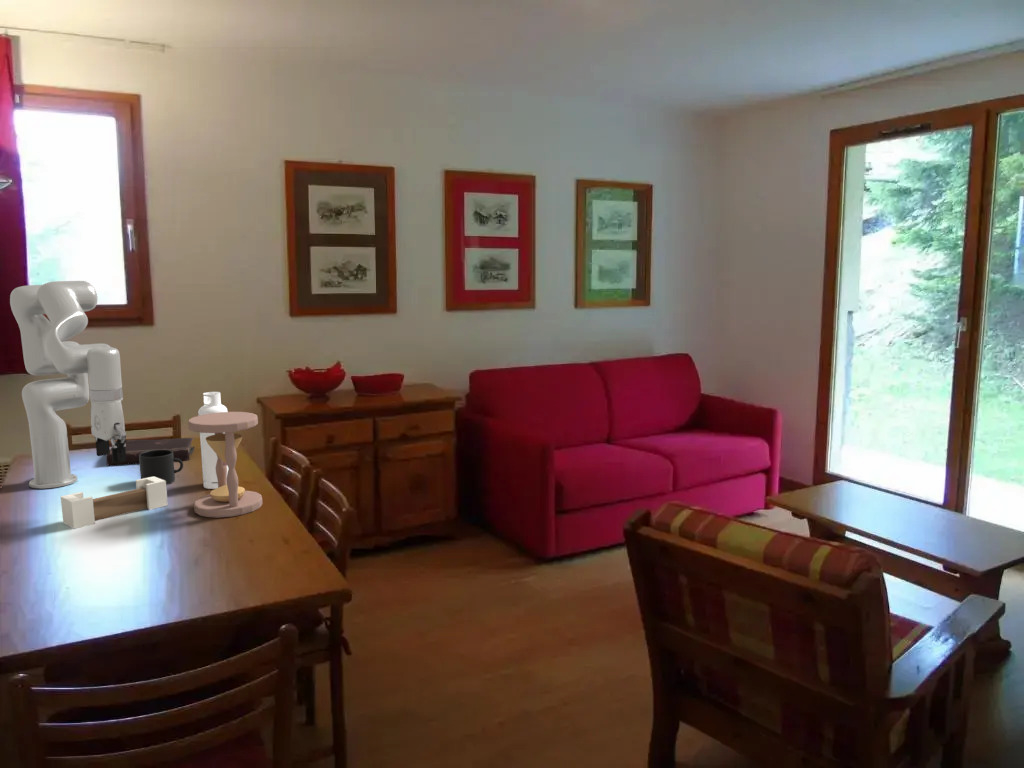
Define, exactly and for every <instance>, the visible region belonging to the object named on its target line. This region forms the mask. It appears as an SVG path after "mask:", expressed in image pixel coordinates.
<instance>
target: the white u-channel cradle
mask: <svg viewBox="0 0 1024 768" xmlns="http://www.w3.org/2000/svg"><path fill="white" fill-rule="evenodd" d="M135 487H136V488H135V489H140V488H143V487H144V488H146V493H147V505H148V508H147V510H149V511H151V510H154V509H155V510H156V509H159V508H162V507H167V506H168V505H169V503H168V494H167V493H168V492H167V485H166V481H165V480H162V479H160V478H157V477H154V476H153V477H148V478H144V479H141V478H140V479H135ZM93 499H94V498H93V496H87V497H84V492H82V491H79V492H75V493H70V494H65V495H61V496H60V503H61V504H60V505H61V513H62V514H61V515H62V522H63V524H65V525H67V526H69V527H71V528H73V529H79V528H81V527H82V528H83V527H85V526H86V527H87V526H90V525H94V524H96V521H95V518H94V507H93Z"/></svg>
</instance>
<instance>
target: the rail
mask: <svg viewBox="0 0 1024 768" xmlns="http://www.w3.org/2000/svg"><path fill="white" fill-rule="evenodd" d="M93 507H94V518H95V522H97V521H101V520H106V519H109V518H112V517H118V516H121V515H125V514H126V515H127V514H128V513H135V512H137V511H142V510H145V509H148V505H147V493H146V488H144V487H143V488H140V489H136V488H135V489H131V490H126V491H123V492H119V493H113V494H109V495H105V496H101V497H96V498H93Z"/></svg>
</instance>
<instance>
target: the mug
mask: <svg viewBox="0 0 1024 768" xmlns="http://www.w3.org/2000/svg"><path fill="white" fill-rule="evenodd" d="M175 462H178V463H179V465H180V466H179V468H177V469H175ZM183 462H184V461H181V460H180V459H178V458H173V451H171V450H153V451H147V452H143V453H141V454H139V463H140V464H139V473H140V479H144V478H148V477H153V476H154V477H157V478H160V479H162V480H165V481H166V486H167V485H170V484H172V483H174V482H175V481H176V475H175V474H177V473H179V472H181V471H182V470H183V468H184V463H183Z"/></svg>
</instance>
